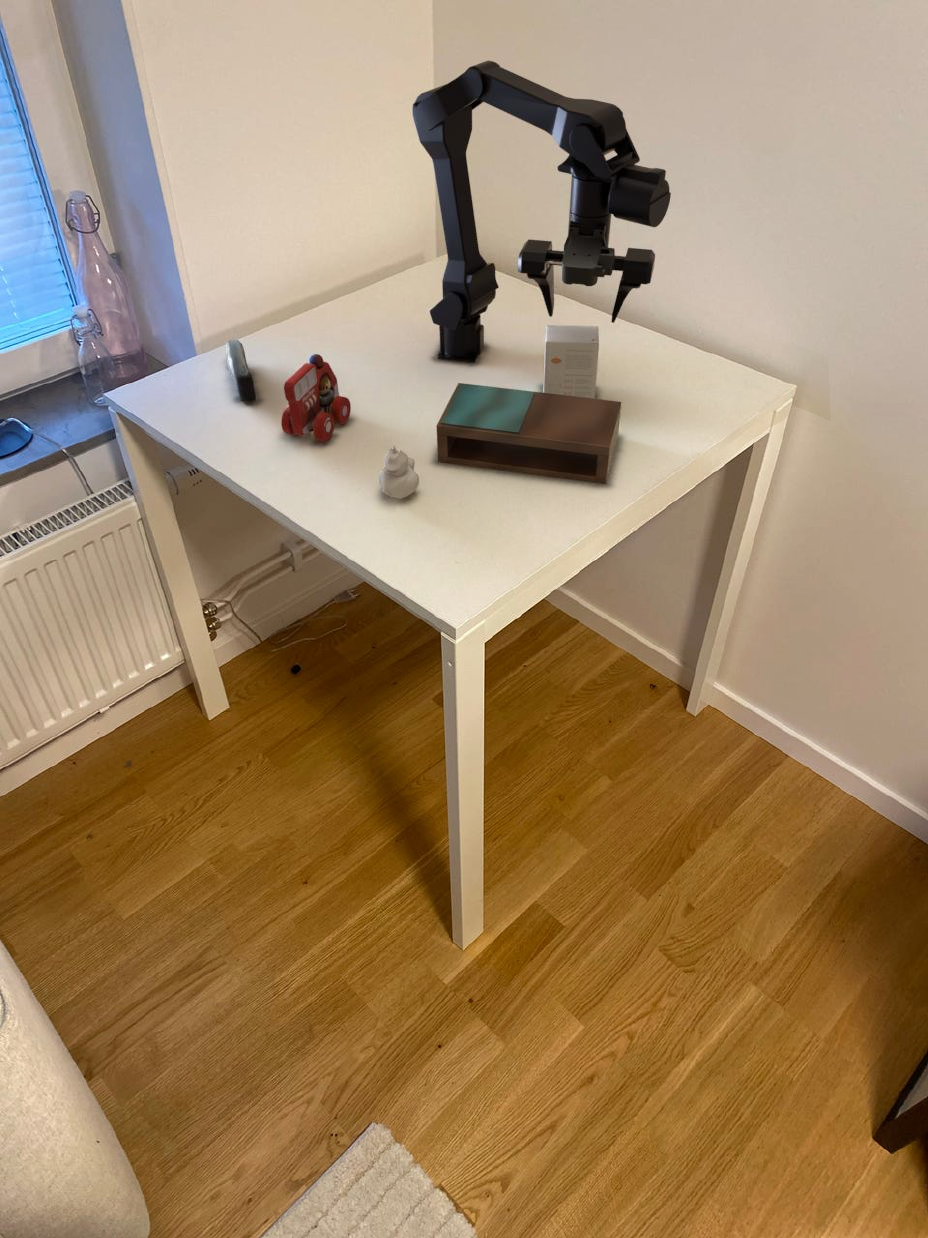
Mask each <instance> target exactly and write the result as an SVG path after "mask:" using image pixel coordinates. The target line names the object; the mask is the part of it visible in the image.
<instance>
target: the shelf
mask: <svg viewBox="0 0 928 1238" xmlns="http://www.w3.org/2000/svg"><path fill="white" fill-rule="evenodd" d="M622 404H623V403H622V401H618V400H611V399H601V398H595V399H594V398H585V397H576V396H568V395H559V394H550V393H543V392H541V391H532V390H523V389H516V388H506V387H499V386H498V387H497V386H489V385H480V384H471V383H464V382H463V383H462V382H458V383H457V384H456V386H455V388H454V390H453V392H452V395H451V397H450V398H449V400H448V402H447V404H446V406H445V408H444V410H443V412H442V414H441V416H440V418H439V419H438V421H437V423H436V426H435V427H436V446H437V447H436V448H437V450H436V451H437V462H438V463H445V464H452V465H458V466H467V467H474V468H481V469H489V470H495V471H504V472H510V473H519V474H526V475H534V476H541V477H549V478H557V479H563V480H571V481H578V482H579V481H580V482H587V483H596V484H602V485H606V484H607V482H608V478H609V473H610V470H611V465H612V462H613V458H614V454H615V450H616V446H617V442H618V439H619V431H620V430H619V429H620V421H621V412H622Z"/></svg>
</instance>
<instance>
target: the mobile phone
mask: <svg viewBox="0 0 928 1238" xmlns="http://www.w3.org/2000/svg"><path fill="white" fill-rule="evenodd" d="M225 350H226V353H225V357H226V362H227V367H228V370H229V374H230V377H231V379H232V383H233V386H234V388H235V391H236V393H237V397H238V398H239V400H240V401H242V402H244V403H249V402H255V401H256V400H257V394H256V393H257V392H256V388H255V383H254V377H253V375H252V373H251V370H250V368H249V365H248V363H247V357H246V352H245V348H244V345H243V344H242V342H241V341H240V340H239V339H230V340H228V341H227V342H226V344H225Z"/></svg>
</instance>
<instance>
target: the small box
mask: <svg viewBox="0 0 928 1238" xmlns="http://www.w3.org/2000/svg"><path fill="white" fill-rule="evenodd" d="M545 329H546V330H545V339H544V340H545V342H544V367H543V392H542V393H550V394H559V395H568V396H576V397H585V398H594V399H596V389H597V376H598V364H599V351H600V336H599V335H600V334H599V330H600V329H599V326H598V325H561V324H547V325H546V328H545Z"/></svg>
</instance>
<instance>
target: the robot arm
mask: <svg viewBox="0 0 928 1238" xmlns="http://www.w3.org/2000/svg"><path fill="white" fill-rule="evenodd" d="M483 103H485V104H488V105H489V106H491V107H493V108H496V109H498V110H500V111H502V112H503V113H506V114H508V115H511V116H512V117H515V118H517V119H518V120H521V121H523V122H525V123H527V124H528V125H529V124H530V125H531V126H534V127H535V128H537V129H540V130H542V131H544V132H546V133H547V134H549V135H550V136H551V137H552V138H553V139H554V141H555V142H556V144H557V145H558V147H559V148H560V149H561V150H562V151H564V152H565V153H566V154H568V156H567V157H566V159H565V160H563V162H562V163H560V164H558V166H557V167H556V168H557V171H558V172H559V173H564V174H568V175H571V182H570V196H569V198H570V199H569V210H568V212H569V214H568V227H567V229H568V231H567V237H566V238H565V239H566V240H565V242H564V244H563V250H554V249H553V242H552V240H542V239H529V238H528V240H527V241H525V242H524V244H523V246H522V248H521V249H520V251H519V253H518V259H517V272H519V273H520V274H525V275H526V277H527V279H530V280H533V281H534V282H535V283H537V285H538V287H539V290H540V292H541V294H542V297H543V301H544V303H545V308H546V309H547V310H546V311H547V314H548V316H549V318H551V317H553V315H554V309H555V277H554V275H555V274H554V273H555V272H554V271H555V270H554V269H555V267H554V266H560V267H561V281H562V282H563V284H565V285H582V286H585V287H593V286H596V284H597V283H598V280H599V278H605V276H610V277H611V276H612V275H613V271H615V272H622V273H621V276H620V280H619V284H618V289H617V292H616V297H615V301H614V305H613V308H612V314H611V323H613V324H615V322H616V319H617V317H618V316H619V313H620V311H621V309H622V306H623V304H624V303H625V300H626V299H627V297H628V295H629V294H630V292H631V291H632V290H634V289H637V290H638V289H640V288H641V286H642V285H649V284H651V282H652V277H653V272H654V268H655V262H656V261H655V260H656V254H655V251H654V250H653V249H649V248H648V249H647V248H637V247H636V248H635V247H627V250H626V254H625V256H623V255H616V252H615V251H616V250H615V248H614V247H609V246H610V245H609V244H610V234H611V225H612V224H611V222H612V216H613V217H614V218H616V219H619V220H622V221H626V222H631V223H634V224H639V225H642V226H647V227H649V228H650V227H651V228H657V227H658V226H660V225H661V224H662V222H663V220H664V218H665V217H666V216H667V215H666V214H667V212H668V209H669V206H670V204H671V203H670V202H671V196H672V192H670V184H669V182H668V180H667V179H666V175H667V171H666V169H664V168H660V167H659V168H658V167H653V168H652V167H647V166H643V165H638V163H640V161H641V158H640V156H639V153H638V151H637V149H636V147H635V145H634V142H633V140H632V138H631V136H630V134H629V132H628V129H627V125H626V119H625V117H624V112H623V111H622V110H621V108H620V107H619V106H617V105H616V104H614V103H610V102H606V101H602V100H597V99H592V98H591V99H589V98H574V97H569V96H565V95H563V94H561V93H559V92H556V91H554V90H553V89H549V88H547V87H545V86H543V85H541V84H539V83H536V82H535V81H532V80H530V79H527V78H526V77H523V76H521V75H519V74H517V73H515V72H512V71H510V70H508V69H505V68H504V67H502V66H501V65H500V64H499V63H497V62H496V61H493V60H486V61H482V62H480V63H477V64H475V65H471V66H469V67H468V68H467V69H466V70H465V71H464V72H463V73H461V74H460V75H459V76H458V77H456V78H454V79H453V80H451V81H449V82H448V83H446V84H443V85H439V86H438V87H435V88H432V89H429V90H427V91H424V92H421V93H420V94H419V95H417V97H416V99H415V101H414V103H412V108H411V109H412V111H411V112H412V119H413V122H414V123H413V124H414V127H415V130H416V133H417V137H418V140H419V143H420V144H421V146H422V147H423V148H424V150H425V152H426V153H427V154H428V155H429V157H430V158H431V161H432V165H433V172H434V177H435V184H436V190H437V197H438V202H439V203H438V204H439V210H440V216H441V223H442V228H443V235H444V242H445V248H446V254H447V261H446V265H445V268H444V273H443V276H442V281H441V284H442V285H441V287H442V299H441V300H440V301H438V302H437V303H436V304H435V305H434V306H433V307H432V308H431V309H430V310H429V314H430V318H431V321H432V323H433V324H434V325H437V326H438V327H439V351H438V353H437V355H436V358H437V359H438V360H443V361H453V362H460V363H461V362H463V363H470V364H471V363H472V364H473V363H476V361H477V359H478V358H479V356H480V355H481V354H482V352H483V350H484V348H485V326H484V324H482V323H481V321H482V320H481V315H482V314H483V313H486V312H487V310H488V307H489V305H491V304H492V302H493V301H494V299H496V295H497V290H498V289H499V287H500V286H499V284H498V281H497V278H496V265H495V263H494V262H490V263H489V262H487V261H486V260H485V259H484V257H483V255H482V254H481V253H480V252H481V251H480V249H479V240H478V232H477V226H476V217H475V211H474V204H473V196H472V189H471V181H470V174H469V167H468V159H467V150H468V147H469V143H470V139H471V136H472V132H473V110H475V109H476V108H477V107H479V106H480V105H482V104H483ZM612 152H614V153H615V154H616V155H614V156H612V157H611V158H609V159H607V158H606V157H605V156H606V155H608V154H610V153H612Z"/></svg>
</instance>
